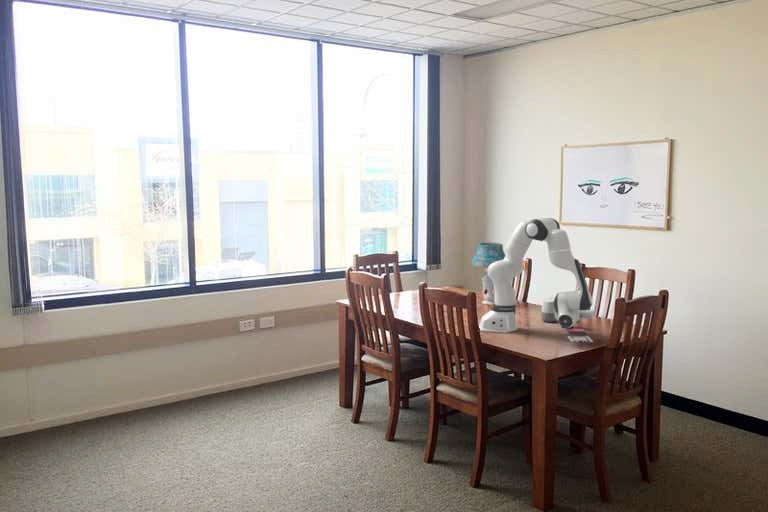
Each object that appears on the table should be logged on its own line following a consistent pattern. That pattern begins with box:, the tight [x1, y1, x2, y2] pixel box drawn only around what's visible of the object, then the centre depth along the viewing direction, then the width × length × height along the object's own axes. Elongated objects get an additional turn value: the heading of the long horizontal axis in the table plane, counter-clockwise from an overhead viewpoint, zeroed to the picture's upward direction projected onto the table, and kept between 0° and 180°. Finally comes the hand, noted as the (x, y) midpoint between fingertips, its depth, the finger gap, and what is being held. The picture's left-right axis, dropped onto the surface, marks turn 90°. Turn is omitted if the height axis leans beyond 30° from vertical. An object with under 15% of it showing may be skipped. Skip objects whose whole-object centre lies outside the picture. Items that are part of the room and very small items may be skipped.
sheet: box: [567, 335, 594, 343], centre depth 332 cm, size 11×10×1 cm
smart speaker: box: [540, 296, 558, 323], centre depth 371 cm, size 10×9×14 cm
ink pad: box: [566, 328, 587, 335], centre depth 345 cm, size 9×7×1 cm
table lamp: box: [471, 242, 506, 306], centre depth 420 cm, size 24×24×40 cm
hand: (576, 309), depth 345 cm, fingers closed on stamp, 3 cm apart
